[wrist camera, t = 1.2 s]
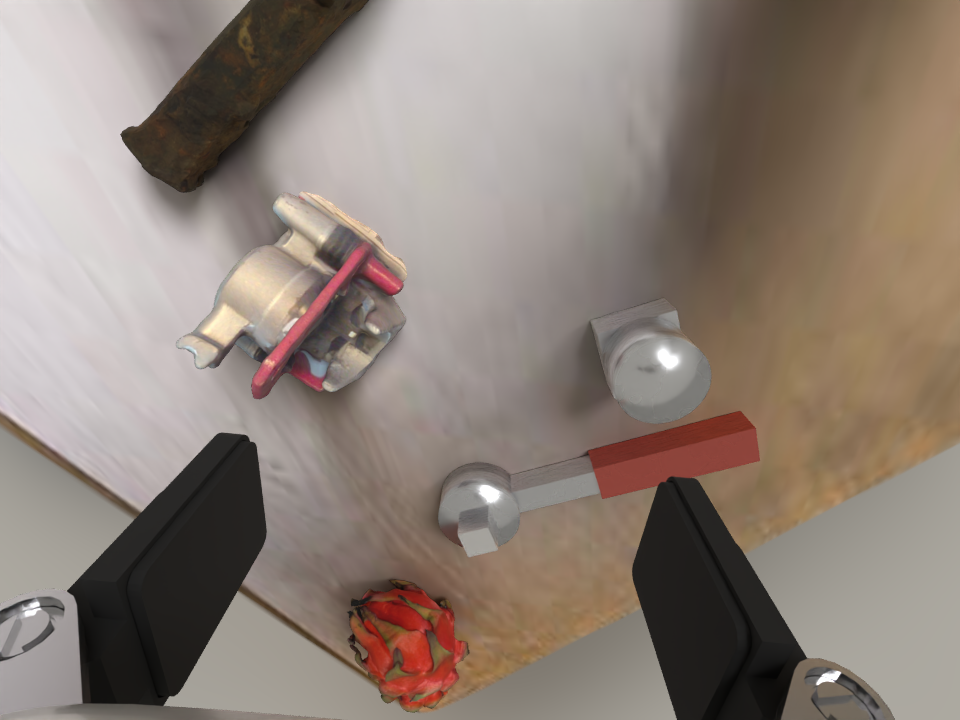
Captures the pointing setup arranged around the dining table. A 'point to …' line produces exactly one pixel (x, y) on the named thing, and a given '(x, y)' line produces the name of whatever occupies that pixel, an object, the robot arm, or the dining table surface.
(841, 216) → the dining table surface
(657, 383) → the socket
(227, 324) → the brake caliper
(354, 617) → the dragon fruit
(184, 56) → the dining table surface
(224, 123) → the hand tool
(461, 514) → the ratchet
